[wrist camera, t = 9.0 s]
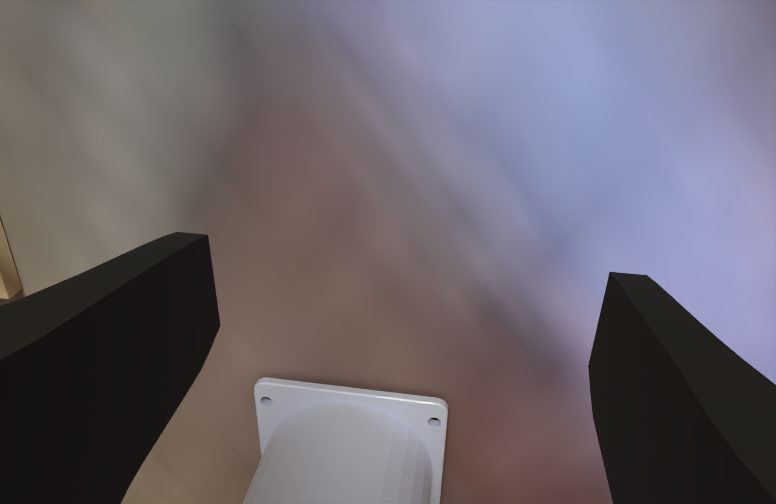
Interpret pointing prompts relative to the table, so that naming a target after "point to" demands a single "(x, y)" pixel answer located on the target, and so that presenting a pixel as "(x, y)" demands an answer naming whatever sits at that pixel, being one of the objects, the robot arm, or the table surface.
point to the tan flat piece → (7, 270)
